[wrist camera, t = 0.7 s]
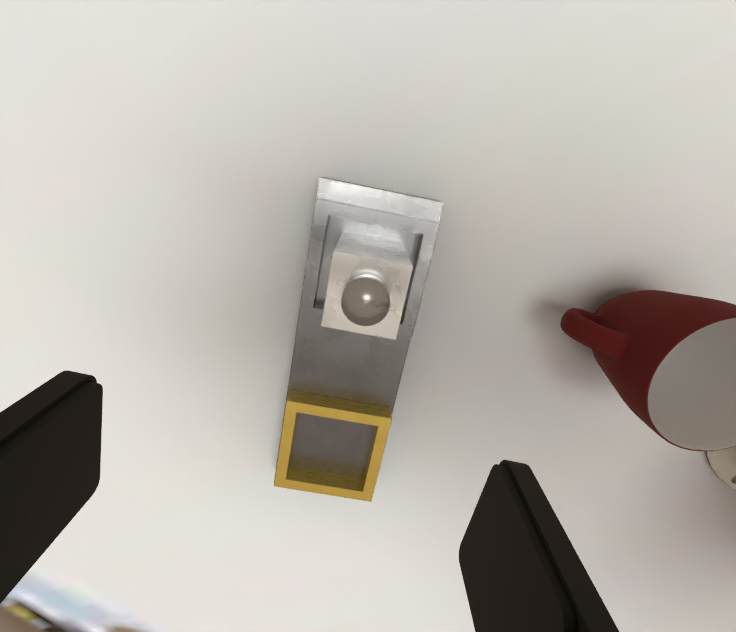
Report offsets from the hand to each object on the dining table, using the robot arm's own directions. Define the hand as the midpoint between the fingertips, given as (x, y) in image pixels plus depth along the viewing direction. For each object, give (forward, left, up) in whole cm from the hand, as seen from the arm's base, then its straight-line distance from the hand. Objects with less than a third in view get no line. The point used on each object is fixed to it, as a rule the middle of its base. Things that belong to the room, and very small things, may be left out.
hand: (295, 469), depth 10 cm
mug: (-19, 0, -22) cm, 29 cm away
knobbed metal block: (-1, -1, -19) cm, 19 cm away
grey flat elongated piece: (-1, +6, -21) cm, 22 cm away
